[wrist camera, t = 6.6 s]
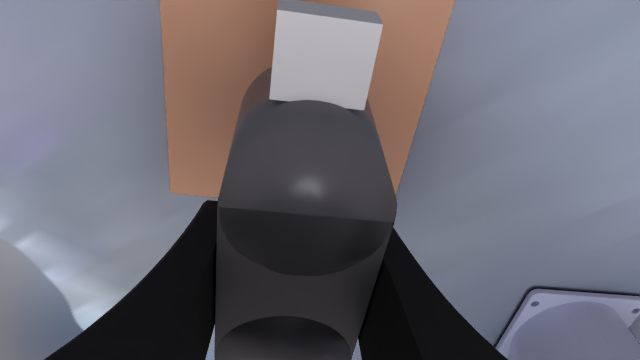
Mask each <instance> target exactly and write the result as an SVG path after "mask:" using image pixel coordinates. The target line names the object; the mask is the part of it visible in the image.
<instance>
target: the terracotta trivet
mask: <svg viewBox="0 0 640 360" xmlns="http://www.w3.org/2000/svg"><path fill="white" fill-rule="evenodd" d="M299 1H306V2H313V3H320V4H327V5H334V6H340V7H347V8H354V9H361V10H368V11H375V12H377V13H378V15H379V17H380V19H381V21H382V23H383V28H382V32H381V37H380V41H379V46H378V50H377V55H376V59H375V64H374V68H373V73H372V77H371V82H370V86H369V91H368V95H367V98H368V101H369V104H370V108H371V111H372V115H373V118H374V122H375V125H376V128H377V132H378V135H379V139H380V142H381V146H382V149H383V153H384V156H385V160H386V163H387V167H388V170H389V174H390V177H391V181H392V184H393V187H394V191H395V195H396V194H397V191H398V187H399V184H400V181H401V177H402V174H403V171H404V168H405V164H406V161H407V158H408V154H409V151H410V148H411V145H412V141H413V138H414V135H415V131H416V128H417V125H418V121H419V118H420V115H421V112H422V108H423V105H424V102H425V98H426V95H427V92H428V89H429V85H430V82H431V79H432V75H433V72H434V69H435V66H436V62H437V59H438V56H439V52H440V49H441V46H442V43H443V39H444V36H445V33H446V29H447V26H448V23H449V20H450V16H451V13H452V10H453V6H454V3H455V0H299ZM278 2H279V0H160V14H161V32H162V50H163V68H164V86H165V104H166V122H167V140H168V158H169V176H170V193H174V194H185V195H196V196H207V197H219V193H220V189H221V185H222V181H223V177H224V172H225V168H226V164H227V160H228V156H229V152H230V148H231V144H232V140H233V136H234V132H235V128H236V123H237V119H238V115H239V111H240V107H241V103H242V100H243V97H244V95H245V93H246V91H247V89H248V88H249V86H250V84H251V83H252V82H253V81H254V80H255V79H256V78H257V77H258V76H259V75H260V74H261V73H262V72H264V71H265V70H267V69H268V68H270V67H271V66H272V63H273V52H274V40H275V29H276V18H277V8H278Z"/></svg>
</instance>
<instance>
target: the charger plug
mask: <svg viewBox="0 0 640 360" xmlns="http://www.w3.org/2000/svg"><path fill="white" fill-rule="evenodd" d="M382 28H383V23H382V21H381V19H380V17H379V15H378V13H377V12H375V11H368V10H361V9H354V8H347V7H340V6H334V5H327V4H320V3H313V2H306V1H299V0H279V2H278V8H277V18H276V29H275V40H274V52H273V63H272V66H271V67H270V68H268V69H267V70H265V71H264V72H262V73H261V74H260V75H259V76H258V77H257V78H256V79H255V80H254V81H253V82H252V83H251V84H250V86H249V88H248V89H247V91H246V93H245V95H244V97H243V100H242V103H241V107H240V111H239V115H238V119H237V123H236V128H235V132H234V136H233V140H232V144H231V148H230V152H229V156H228V160H227V164H226V168H225V172H224V177H223V181H222V185H221V189H220V193H219V197H218V206H217V254H216V305H215V360H351V358H352V355H353V352H354V349H355V346H356V342H357V339H358V336H359V333H360V330H361V327H362V323H363V320H364V317H365V314H366V311H367V307H368V304H369V301H370V298H371V295H372V292H373V288H374V285H375V282H376V279H377V276H378V273H379V269H380V266H381V263H382V260H383V257H384V253H385V250H386V247H387V244H388V241H389V238H390V234H391V231H392V228H393V225H394V221H395V217H396V209H397V202H396V195H395V191H394V187H393V184H392V181H391V177H390V174H389V170H388V167H387V163H386V160H385V156H384V153H383V149H382V146H381V142H380V139H379V135H378V132H377V128H376V125H375V122H374V118H373V115H372V111H371V108H370V104H369V101H368V98H367V95H368V91H369V86H370V82H371V77H372V73H373V68H374V64H375V59H376V55H377V50H378V46H379V41H380V37H381V32H382Z"/></svg>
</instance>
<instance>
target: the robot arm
mask: <svg viewBox="0 0 640 360" xmlns="http://www.w3.org/2000/svg"><path fill="white" fill-rule="evenodd" d="M217 206H218V201H210V200H207V201H206V202H204V203H203V205H202V206H201V208H200V210H199V211H198V213H197V214H196V216H195V217H194V219H193V220H192V221H191V223H190V224H189V226H188V227H187V228H186V230H185V231H184V232H183V234H182V235H181V236H180V237H179V239H178V240H177V241H176V242H175V244H174V245H173V246H172V247H171V249H170V250H169V251H168V252H167V253H166V254H165V256H164V257H163V258H162V259H161V260H160V261H159V262H158V263H157V264H156V265H155V267H154V268H153V269H152V270H151V271H150V272H149V273H148V274H147V275H146V276H145V277H144V278H143V279H142V280H141V281H140V282H139V283H138V284H137V285H136V286H135V287H134V288H133V289H132V290H131V291H130V292H129V293H128V294H127V295H126V296H125V297H124V298H123V299H121V300H120V301H119V302H118V303H117V304H116V305H115V306H114V307H112V308H111V309H110V310H109V311H108V312H106V313H105V314H104V315H103V316H102V317H100V318H99V319H98V320H97V321H96V322H95V323H93V324H92V325H91V326H90V327H88V328H87V329H86V330H84V331H83V332H82V333H81V334H79V335H78V336H77V337H75V338H74V339H72V340H71V341H70V342H68V343H67V344H66V345H64V346H63V347H61V348H60V349H58V350H57V351H56V352H54V353H53V354H51V355H50V356H49V357H47V358H46V359H44V360H205V358H206V355H207V351H208V347H209V343H210V340H211V336H212V332H213V328H214V325H215V305H216V254H217ZM639 315H640V296H627V295H614V294H600V293H587V292H573V291H560V290H546V289H534V290H532V291H530V292H529V294H528V295H527V297H526V298H525V300H524V302H523V303H522V305H521V307H520V308H519V310H518V312H517V313H516V315H515V316H514V318H513V320H512V321H511V323H510V325H509V326H508V328H507V330H506V331H505V333H504V334H503V336H502V338H501V339H500V341H499V343H498V344H497V346H496V348H494V347H493V346H492V345H491V344H490V343H489V342H488V341H487V340H486V339H484V338H483V337H482V336H481V335H480V334H479V333H478V332H477V331H476V330H475V329H474V328H473V327H472V326H471V325H470V324H469V323H468V322H467V321H466V320H465V319H464V318H463V317H462V316H461V315H460V314H459V313H458V311H457V310H456V309H455V308H454V307H453V306H452V305H451V304H450V303H449V302H448V300H447V299H446V298H445V297H444V296H443V294H442V293H441V292H440V291H439V290H438V288H437V287H436V286H435V285H434V284H433V282H432V281H431V280H430V278H429V277H428V276H427V275H426V273H425V272H424V270H423V269H422V268H421V266H420V265H419V264H418V262H417V261H416V260H415V258H414V257H413V256H412V254H411V253H410V251H409V250H408V248H407V247H406V246H405V244H404V243H403V241H402V240H401V238H400V237H399V235H398V234H397V232H396V231H395V229H394V228H392V231H391V234H390V238H389V241H388V244H387V247H386V250H385V253H384V257H383V260H382V263H381V266H380V269H379V273H378V276H377V279H376V282H375V285H374V288H373V292H372V295H371V298H370V301H369V304H368V307H367V311H366V314H365V317H364V320H363V323H362V327H361V330H360V333H359V336H358V339H359V345H360V351H361V356H362V360H640V344H639V343H638V341H637V340H636V338H635V337H634V336H633V334H632V333H631V331H630V330H629V328H628V327H629V326H630V325H631V324H632V323H633V322H634V320H635V319H636V318H637V317H638V316H639Z"/></svg>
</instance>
